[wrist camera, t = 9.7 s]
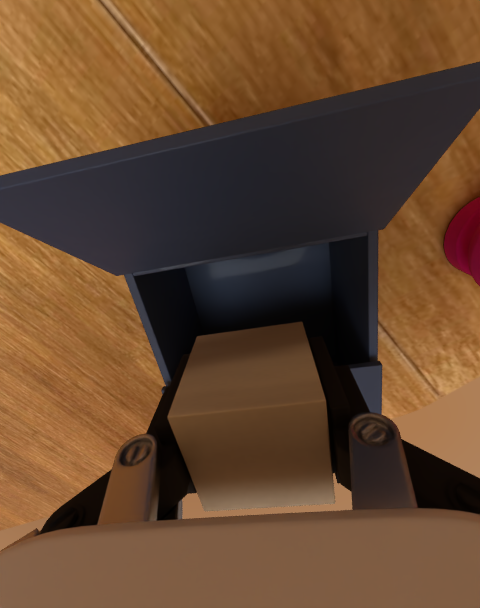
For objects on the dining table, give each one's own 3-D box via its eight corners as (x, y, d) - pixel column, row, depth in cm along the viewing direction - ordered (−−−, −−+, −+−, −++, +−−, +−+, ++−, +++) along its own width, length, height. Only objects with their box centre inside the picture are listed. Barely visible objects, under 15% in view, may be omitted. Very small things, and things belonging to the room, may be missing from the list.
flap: (116, 276, 14) (116, 268, 14) (384, 229, 13) (382, 221, 13) (-50, 200, 7) (-49, 186, 7) (510, 70, 6) (504, 54, 6)
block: (196, 335, 12) (166, 417, 8) (302, 320, 11) (326, 400, 7) (219, 413, 14) (204, 511, 10) (311, 404, 13) (335, 504, 9)
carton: (170, 233, 24) (114, 274, 14) (331, 202, 22) (385, 226, 13) (212, 376, 30) (191, 471, 20) (340, 361, 28) (382, 456, 19)
